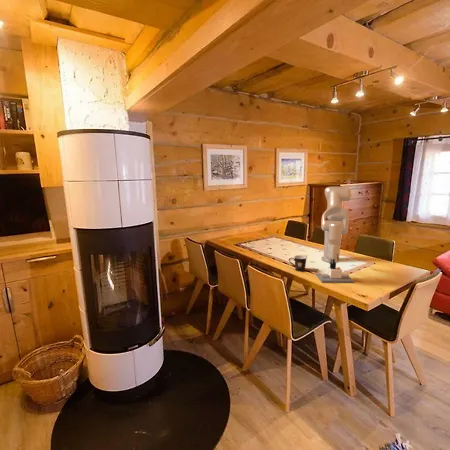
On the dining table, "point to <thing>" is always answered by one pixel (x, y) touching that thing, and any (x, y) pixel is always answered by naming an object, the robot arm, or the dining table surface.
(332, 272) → the block
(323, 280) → the mounting board
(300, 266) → the coffee mug
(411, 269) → the dining table surface
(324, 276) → the rail
